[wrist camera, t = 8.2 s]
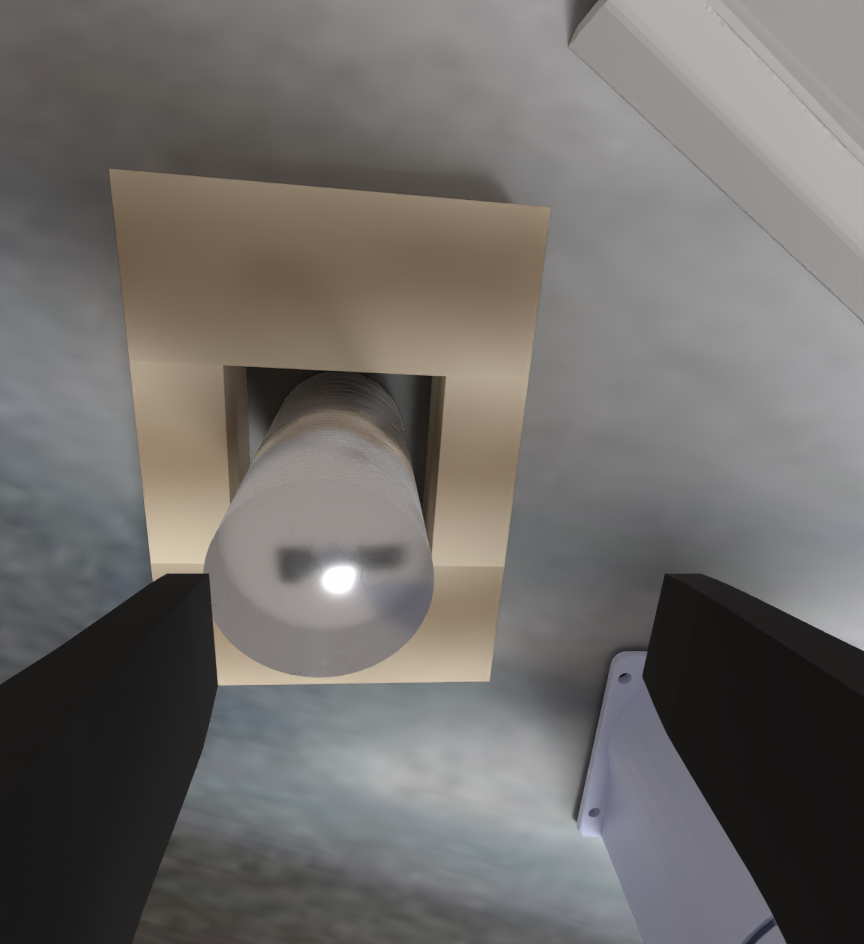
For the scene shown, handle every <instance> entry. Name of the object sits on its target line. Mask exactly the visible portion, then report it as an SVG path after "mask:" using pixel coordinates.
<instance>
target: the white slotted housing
mask: <svg viewBox="0 0 864 944" xmlns="http://www.w3.org/2000/svg"><path fill="white" fill-rule="evenodd" d="M568 47H569V48H570V49H571V50H573V51H574V52H575V53H576V54H577V55H578V56H579V57H580V58H581V59H582V60H583V61H584V62H585V63H586V64H588V65H589V66H590V67H591V68H592V69H593V70H594V71H595V72H596V73H597V74H598V75H599V76H600V77H602V78H603V79H604V80H605V81H606V82H607V83H608V84H609V85H610V86H611V87H612V88H613V89H614V90H615V91H617V92H618V93H619V94H620V95H621V96H622V97H623V98H624V99H625V100H626V101H627V102H628V103H629V104H630V105H632V106H633V107H634V108H635V109H636V110H637V111H638V112H639V113H640V114H641V115H642V116H643V117H644V118H645V119H647V120H648V121H649V122H650V123H651V124H652V125H653V126H654V127H655V128H656V129H657V130H658V131H659V132H660V133H662V134H663V135H664V136H665V137H666V138H667V139H668V140H669V141H670V142H671V143H672V144H673V145H674V146H675V147H677V148H678V149H679V150H680V151H681V152H682V153H683V154H684V155H685V156H686V157H687V158H688V159H689V160H690V161H692V162H693V163H694V164H695V165H696V166H697V167H698V168H699V169H700V170H701V171H702V172H703V173H704V174H705V175H707V176H708V177H709V178H710V179H711V180H712V181H713V182H714V183H715V184H716V185H717V186H718V187H719V188H720V189H722V190H723V191H724V192H725V193H726V194H727V195H728V196H729V197H730V198H731V199H732V200H733V201H734V202H735V203H737V204H738V205H739V206H740V207H741V208H742V209H743V210H744V211H745V212H746V213H747V214H748V215H749V216H751V217H752V218H753V219H754V220H755V221H756V222H757V223H758V224H759V225H760V226H761V227H762V228H763V229H764V230H766V231H767V232H768V233H769V234H770V235H771V236H772V237H773V238H774V239H775V240H776V241H777V242H778V243H779V244H781V245H782V246H783V247H784V248H785V249H786V250H787V251H788V252H789V253H790V254H791V255H792V256H793V257H794V258H796V259H797V260H798V261H799V262H800V263H801V264H802V265H803V266H804V267H805V268H806V269H807V270H808V271H809V272H811V273H812V274H813V275H814V276H815V277H816V278H817V279H818V280H819V281H820V282H821V283H822V284H823V285H824V286H826V287H827V288H828V289H829V290H830V291H831V292H832V293H833V294H834V295H835V296H836V297H837V298H838V299H839V300H841V301H842V302H843V303H844V304H845V305H846V306H847V307H848V308H849V309H850V310H851V311H852V312H853V313H854V314H856V315H857V316H858V317H859V318H860V319H861V320H862V321H863V322H864V0H598V1H597V2H596V4H595V5H594V6H593V7H592V9H591V10H590V11H589V12H588V14H587V15H586V16H585V17H584V19H583V20H582V21H581V22H580V24H579V25H578V26H577V28H576V30H575V32H574V35H573V37H572V39H571V41H570V44H569V46H568Z"/></svg>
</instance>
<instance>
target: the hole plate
mask: <svg viewBox="0 0 864 944" xmlns="http://www.w3.org/2000/svg"><path fill="white" fill-rule="evenodd" d="M109 175H110V184H111V194H112V203H113V212H114V222H115V231H116V241H117V250H118V259H119V269H120V278H121V288H122V297H123V306H124V316H125V325H126V335H127V344H128V353H129V363H130V372H131V382H132V391H133V400H134V410H135V419H136V429H137V438H138V447H139V457H140V466H141V476H142V485H143V494H144V504H145V513H146V522H147V532H148V541H149V551H150V560H151V569H152V579H153V582H154V581H155V580H157V579H158V578H160V577H162V576H163V575H165V574H167V573H203V568H204V563H205V558H206V554H207V551H208V548H209V546H210V543H211V541H212V539H213V537H214V535H215V533H216V531H217V529H218V527H219V525H220V523H221V521H222V520H223V518H224V516H225V514H226V512H227V510H228V508H229V506H230V504H231V502H232V500H233V498H234V496H235V494H236V492H237V490H238V489H239V487H240V485H241V483H242V481H243V479H244V477H245V475H246V473H247V471H248V469H249V467H250V456H249V430H248V403H247V377H246V366H248V367H268V368H288V369H308V370H328V371H349V372H369V373H389V374H409V375H429V376H432V386H431V400H430V413H429V427H428V441H427V455H426V469H425V483H424V496H423V510H422V514H423V519H424V523H425V528H426V533H427V537H428V542H429V547H430V551H431V556H432V560H433V567H434V590H433V596H432V601H431V604H430V607H429V610H428V612H427V614H426V616H425V618H424V620H423V622H422V624H421V626H420V627H419V628H418V630H417V631H416V633H415V634H414V635H413V636H412V638H411V639H410V640H409V641H408V642H407V643H406V644H405V645H404V646H403V647H402V648H400V649H399V650H398V651H397V652H396V653H394V654H393V655H391V656H390V657H388V658H387V659H385V660H384V661H382V662H380V663H378V664H376V665H374V666H372V667H369V668H367V669H364V670H362V671H359V672H355V673H351V674H347V675H342V676H335V677H321V678H316V677H302V676H296V675H290V674H286V673H283V672H279V671H276V670H273V669H271V668H268V667H266V666H263V665H262V664H260V663H258V662H256V661H254V660H252V659H251V658H249V657H248V656H246V655H245V654H243V653H242V652H241V651H239V650H238V649H237V648H236V647H235V646H234V645H233V644H232V643H230V642H229V640H228V639H227V638H226V637H225V636H224V634H223V633H222V632H221V631H220V629H219V628H218V626H217V625H216V623H215V621H214V620H213V629H214V641H215V654H216V666H217V679H218V685H273V684H341V683H408V682H476V681H490V673H491V666H492V658H493V650H494V642H495V635H496V627H497V619H498V612H499V604H500V596H501V588H502V581H503V573H504V565H505V558H506V550H507V542H508V535H509V527H510V519H511V511H512V504H513V496H514V488H515V481H516V473H517V465H518V457H519V450H520V442H521V434H522V427H523V419H524V411H525V403H526V396H527V388H528V380H529V373H530V365H531V357H532V349H533V342H534V334H535V326H536V319H537V311H538V303H539V295H540V288H541V280H542V272H543V265H544V257H545V249H546V242H547V234H548V226H549V218H550V211H551V207H542V206H530V205H519V204H508V203H496V202H485V201H473V200H462V199H450V198H439V197H428V196H416V195H405V194H393V193H382V192H371V191H359V190H348V189H336V188H325V187H314V186H302V185H291V184H279V183H268V182H257V181H245V180H234V179H222V178H211V177H199V176H188V175H177V174H165V173H154V172H142V171H131V170H120V169H109Z"/></svg>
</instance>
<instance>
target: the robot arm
mask: <svg viewBox="0 0 864 944" xmlns="http://www.w3.org/2000/svg"><path fill="white" fill-rule="evenodd" d="M624 673H626V675H624V676H623V677H619V676H620V675H622V674H624ZM217 687H218V679H217V666H216V654H215V641H214V629H213V616H212V604H211V591H210V578H209V573H167V574H165V575H163V576H162V577H160V578H158V579H157V580H155V581H154V582H152V583H151V584H149V585H148V586H146V587H145V588H143V589H142V590H140V591H139V592H138V593H136V594H135V595H133V596H132V597H130V598H129V599H128V600H126V601H125V602H123V603H122V604H121V605H119V606H118V607H116V608H115V609H113V610H112V611H111V612H109V613H108V614H106V615H105V616H104V617H102V618H101V619H99V620H98V621H96V622H95V623H93V624H92V625H91V626H89V627H88V628H86V629H85V630H83V631H82V632H80V633H79V634H78V635H76V636H75V637H73V638H72V639H70V640H69V641H67V642H66V643H64V644H63V645H62V646H60V647H59V648H57V649H56V650H54V651H53V652H51V653H49V654H48V655H46V656H45V657H43V658H41V659H40V660H38V661H37V662H35V663H34V664H32V665H30V666H29V667H27V668H26V669H24V670H23V671H21V672H19V673H18V674H16V675H15V676H13V677H12V678H10V679H8V680H7V681H5V682H4V683H2V684H1V685H0V944H132V941H133V938H134V935H135V932H136V929H137V926H138V923H139V920H140V917H141V914H142V911H143V909H144V906H145V903H146V901H147V898H148V895H149V893H150V890H151V887H152V885H153V882H154V879H155V877H156V874H157V871H158V869H159V866H160V863H161V861H162V858H163V855H164V853H165V850H166V847H167V845H168V842H169V839H170V837H171V834H172V831H173V829H174V826H175V823H176V821H177V818H178V815H179V813H180V810H181V807H182V805H183V802H184V799H185V797H186V794H187V791H188V788H189V786H190V783H191V780H192V777H193V775H194V772H195V769H196V767H197V764H198V761H199V758H200V755H201V753H202V750H203V746H204V742H205V738H206V734H207V730H208V726H209V722H210V718H211V714H212V709H213V705H214V700H215V696H216V692H217ZM577 828H578V830H579V833H580V834H581V835H582V836H584V837H602V838H603V841H604V843H605V846H606V848H607V851H608V853H609V856H610V858H611V861H612V863H613V866H614V868H615V871H616V873H617V876H618V878H619V881H620V883H621V886H622V888H623V891H624V893H625V896H626V898H627V901H628V903H629V906H630V908H631V911H632V913H633V916H634V918H635V921H636V923H637V926H638V928H639V931H640V933H641V936H642V938H643V941H644V943H645V944H864V651H863V650H860V649H858V648H856V647H854V646H852V645H850V644H848V643H846V642H844V641H842V640H840V639H838V638H836V637H834V636H832V635H830V634H828V633H825V632H823V631H821V630H819V629H817V628H815V627H813V626H811V625H809V624H807V623H805V622H803V621H801V620H799V619H797V618H795V617H793V616H791V615H789V614H787V613H785V612H783V611H781V610H779V609H777V608H775V607H773V606H771V605H769V604H767V603H765V602H763V601H761V600H759V599H757V598H755V597H753V596H751V595H749V594H747V593H745V592H743V591H740V590H738V589H736V588H734V587H732V586H730V585H727V584H725V583H723V582H721V581H718V580H716V579H713V578H711V577H708V576H705V575H702V574H665V576H664V580H663V585H662V589H661V594H660V598H659V602H658V607H657V611H656V616H655V620H654V625H653V629H652V634H651V638H650V643H649V647H648V651H625V652H620V653H618V654H617V655H616V656H615V657H614V658H613V659H612V662H611V666H610V670H609V675H608V680H607V684H606V689H605V694H604V698H603V703H602V708H601V712H600V717H599V722H598V726H597V731H596V736H595V740H594V745H593V750H592V754H591V759H590V763H589V768H588V773H587V777H586V782H585V787H584V791H583V796H582V801H581V805H580V810H579V815H578V819H577Z"/></svg>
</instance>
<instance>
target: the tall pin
mask: <svg viewBox="0 0 864 944" xmlns="http://www.w3.org/2000/svg"><path fill="white" fill-rule="evenodd" d="M203 573H209V578H210V591H211V604H212V616H213V620H214V621H215V623H216V625H217V626H218V628H219V629H220V631H221V632H222V633H223V634H224V636H225V637H226V638H227V639H228V640H229V642H230V643H232V644H233V645H234V646H235V647H236V648H237V649H238V650H239V651H241V652H242V653H243V654H245V655H246V656H248V657H249V658H251V659H252V660H254V661H256V662H258V663H260V664H262V665H263V666H266V667H268V668H271V669H273V670H276V671H279V672H283V673H286V674H290V675H296V676H302V677H316V678H321V677H335V676H342V675H347V674H351V673H355V672H359V671H362V670H364V669H367V668H369V667H372V666H374V665H376V664H378V663H380V662H382V661H384V660H385V659H387V658H388V657H390V656H391V655H393V654H394V653H396V652H397V651H398V650H399V649H400V648H402V647H403V646H404V645H405V644H406V643H407V642H408V641H409V640H410V639H411V638H412V636H413V635H414V634H415V633H416V631H417V630H418V628H419V627H420V626H421V624H422V622H423V620H424V618H425V616H426V614H427V612H428V610H429V607H430V604H431V601H432V596H433V590H434V567H433V560H432V556H431V551H430V547H429V542H428V537H427V533H426V528H425V523H424V519H423V514H422V510H421V505H420V500H419V496H418V491H417V486H416V482H415V477H414V473H413V468H412V463H411V459H410V454H409V450H408V445H407V440H406V436H405V431H404V426H403V422H402V418H401V414H400V412H399V409H398V407H397V405H396V404H395V402H394V400H393V399H392V397H391V396H390V395H389V394H388V392H387V391H386V390H384V389H383V388H382V387H381V386H380V385H379V384H377V383H376V382H374V381H373V380H371V379H369V378H367V377H365V376H362V375H360V374H356V373H352V372H346V371H331V372H324V373H320V374H317V375H314V376H312V377H309V378H308V379H306V380H304V381H302V382H301V383H300V384H298V385H297V386H296V387H295V388H294V389H293V390H292V391H291V392H290V393H289V394H288V396H287V397H286V398H285V400H284V402H283V403H282V405H281V407H280V409H279V411H278V413H277V415H276V417H275V419H274V421H273V423H272V425H271V426H270V428H269V430H268V432H267V434H266V436H265V438H264V440H263V442H262V444H261V446H260V448H259V450H258V452H257V454H256V456H255V458H254V459H253V461H252V463H251V465H250V467H249V469H248V471H247V473H246V475H245V477H244V479H243V481H242V483H241V485H240V487H239V489H238V490H237V492H236V494H235V496H234V498H233V500H232V502H231V504H230V506H229V508H228V510H227V512H226V514H225V516H224V518H223V520H222V521H221V523H220V525H219V527H218V529H217V531H216V533H215V535H214V537H213V539H212V541H211V543H210V546H209V548H208V551H207V554H206V558H205V563H204V568H203Z"/></svg>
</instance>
